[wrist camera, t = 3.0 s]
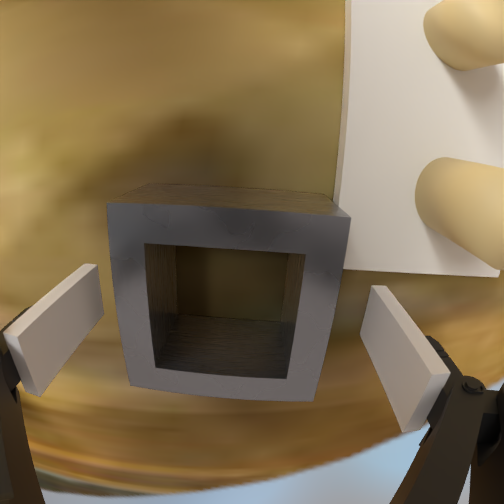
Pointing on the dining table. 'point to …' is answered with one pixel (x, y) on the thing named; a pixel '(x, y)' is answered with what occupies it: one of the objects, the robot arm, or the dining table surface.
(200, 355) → the collar
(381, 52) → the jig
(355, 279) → the dining table surface
